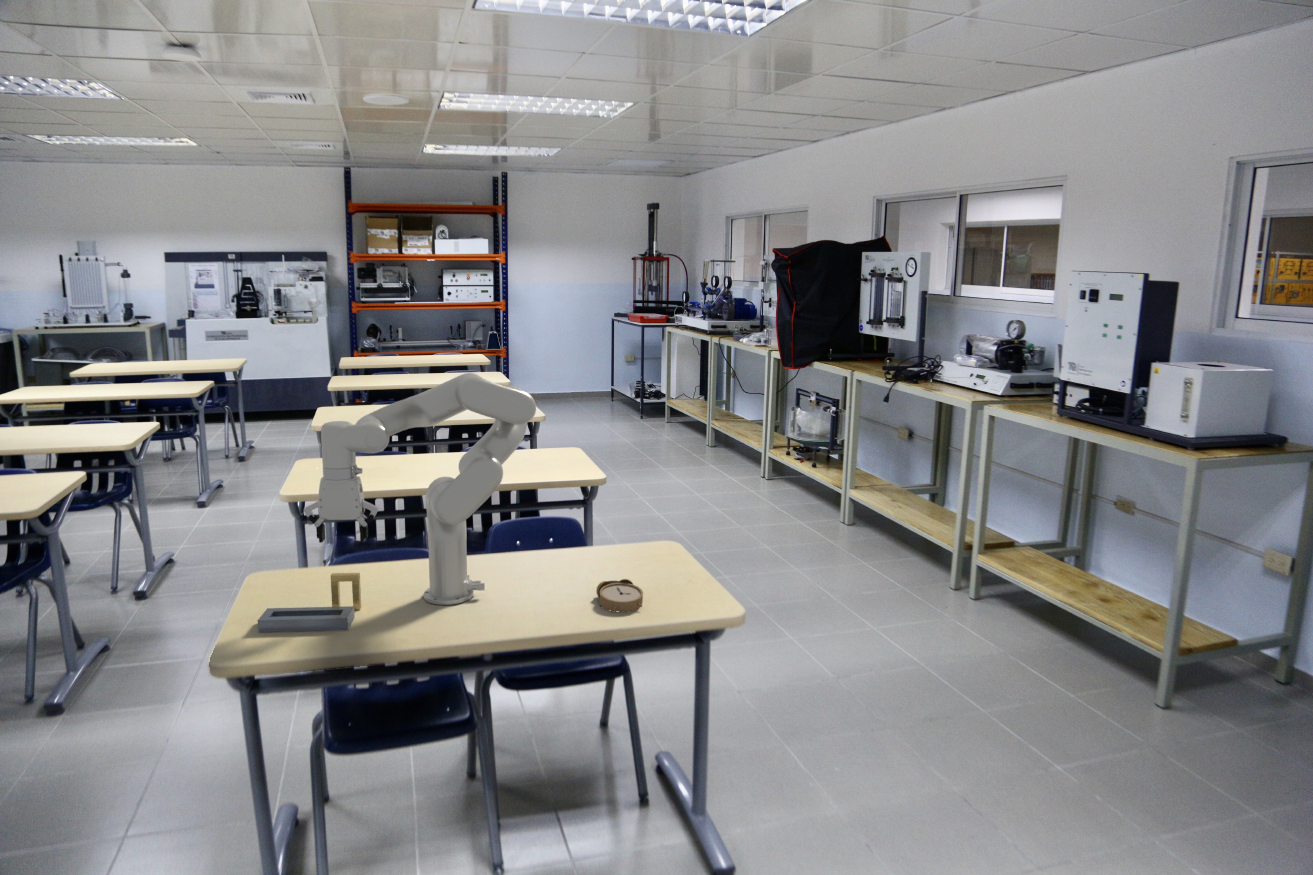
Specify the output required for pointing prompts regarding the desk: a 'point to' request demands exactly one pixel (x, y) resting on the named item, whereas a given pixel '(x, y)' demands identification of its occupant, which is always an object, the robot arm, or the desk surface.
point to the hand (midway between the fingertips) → (342, 540)
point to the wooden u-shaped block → (355, 588)
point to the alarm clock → (620, 595)
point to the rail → (306, 619)
